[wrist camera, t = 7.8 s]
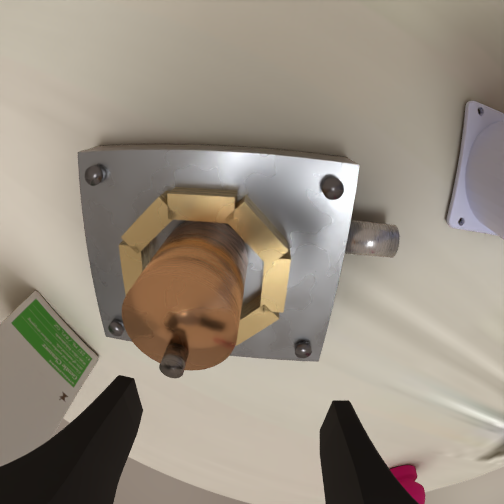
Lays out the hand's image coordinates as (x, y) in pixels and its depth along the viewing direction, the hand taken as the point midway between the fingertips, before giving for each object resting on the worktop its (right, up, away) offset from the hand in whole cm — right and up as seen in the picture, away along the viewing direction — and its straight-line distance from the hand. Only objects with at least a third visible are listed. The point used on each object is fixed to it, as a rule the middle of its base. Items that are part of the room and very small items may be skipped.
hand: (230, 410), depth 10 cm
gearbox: (0, +6, +8) cm, 10 cm away
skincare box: (-17, -2, +13) cm, 22 cm away
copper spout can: (-2, +5, +6) cm, 8 cm away
